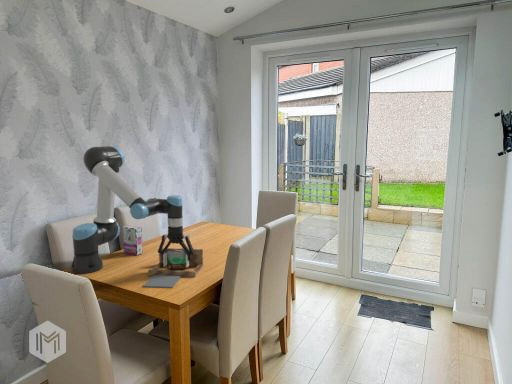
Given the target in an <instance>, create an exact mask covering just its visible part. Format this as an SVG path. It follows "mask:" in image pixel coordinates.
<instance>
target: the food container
mask: <svg viewBox="0 0 512 384" xmlns="http://www.w3.org/2000/svg"><path fill="white" fill-rule="evenodd" d="M187 248H188V247H187ZM188 249H189V248H188ZM166 254H167V255H168V263H169V265H168V268H169V270H176V271H183V270H184V269H186V268H187V267H186V255H187V253H186V252H185V250H174V251H168V250H167V251H166Z"/></svg>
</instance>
